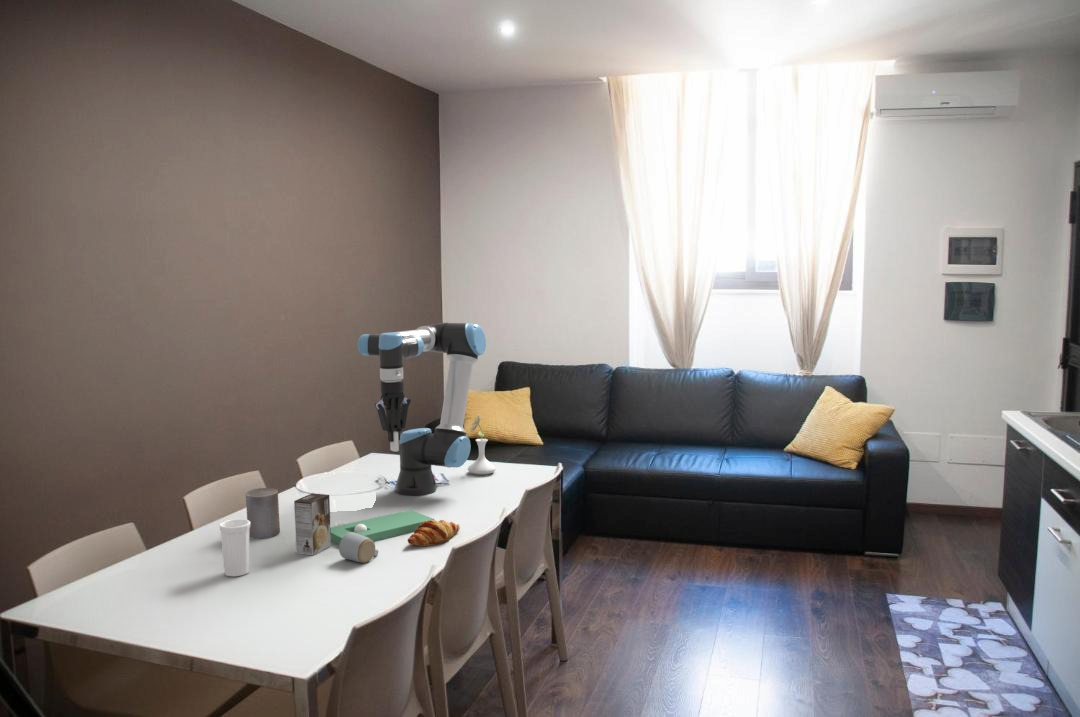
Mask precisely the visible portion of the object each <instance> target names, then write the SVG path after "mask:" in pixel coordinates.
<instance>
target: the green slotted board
mask: <svg viewBox="0 0 1080 717" xmlns="http://www.w3.org/2000/svg"><path fill="white" fill-rule="evenodd" d="M428 520H435V518H432V517H430V516H428V515H425V514H422V513H420V512H418V511H415V510H413V509H407V510H403V511H399V512H394V513H390V514H384V515H380V516H377V517H373V518H372V517H371V518H367V519H363V520H359V521H354V522H349V523H344V524H341V525H335V526H330V527H331V542H333V543H335V544H337V545H340V542H341V540H342V538H343V536H344V535H346V534H347V533H349V532H354V529H355V527H356V526H357V525H358V524H364V525H365V526H366V527H367V530H366V531H362V532H358V533H357V534H359V535H362V536H365V537H368V538H370V539H371V540H372V541H373V542H377V541H381V540H384V539H385V540H386V539H389V538H392V537H397V536H401V535H406V534H409V533H414V532H415V530H416V529H418V527H419V525H420V524H421V523H423V522H425V521H428Z"/></svg>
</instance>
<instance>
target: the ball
mask: <svg viewBox="0 0 1080 717" xmlns="http://www.w3.org/2000/svg"><path fill="white" fill-rule="evenodd" d="M366 530H367V527H366V526H365V525H364V524H358V525H357V526H356V527H355V529H354V533H358V532H362V531H366Z"/></svg>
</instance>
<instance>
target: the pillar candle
mask: <svg viewBox="0 0 1080 717" xmlns="http://www.w3.org/2000/svg"><path fill="white" fill-rule="evenodd" d="M245 502H246V503H245V504H246V520H249V521H250V522H251V523H250V528H249V539H250V538H251V539H256V540H257V539H270V538H273V537H276V536H278V535H279V534H280V532H281V525H280V507H279V505H280V504H279V491H278V489H276V488H272V487H261V488H260V487H259V488H254V489H251V490H248V491H247V492H246V493H245Z"/></svg>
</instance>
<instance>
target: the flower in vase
mask: <svg viewBox="0 0 1080 717" xmlns="http://www.w3.org/2000/svg"><path fill="white" fill-rule="evenodd" d="M481 419H482V414H480V413H478V414H477V415H476V417H474V420H473V422H472V423H471V427H470V428H469V430H470V433H471V432H474V431H475V430H476V429H477V428H478V427H479V428H480V430H479V431H478V432H477V435H478V436H479V437H480V438H477V439H475V440H474V441H475V442H476V444H477V446H478V457H477V459H475V461H473V462H472V463H471V464H470V465H469V466H468V468H467V471H468V472H469V473H471V474H473V475H482V476H483V475H490V474H492V473H494V472H495V471H496V467H495V465H494V464H493V463H492V462H490V461H489V460H488V459H487V458H486V456H485V448H486V445H487V442H488V441H489V439H487V438H484V436H485V434H484V433H483V430H482V429H483V428H482V427H481V425H480V422H481Z"/></svg>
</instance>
